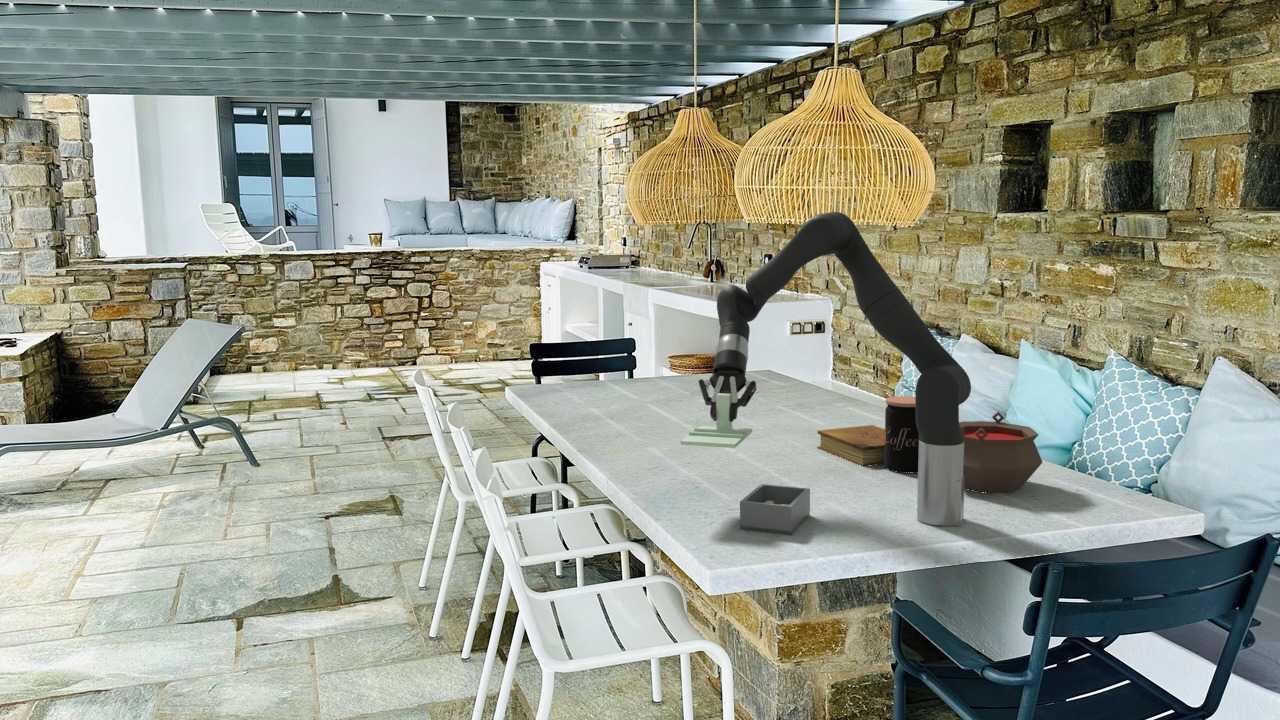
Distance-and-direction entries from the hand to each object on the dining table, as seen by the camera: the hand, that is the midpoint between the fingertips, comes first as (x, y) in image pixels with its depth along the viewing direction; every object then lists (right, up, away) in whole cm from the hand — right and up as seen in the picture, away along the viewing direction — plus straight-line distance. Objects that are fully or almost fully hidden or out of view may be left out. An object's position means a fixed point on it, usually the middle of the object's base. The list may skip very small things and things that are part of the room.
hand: (722, 419), depth 226 cm
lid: (-2, -4, -3) cm, 5 cm away
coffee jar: (+50, -15, +33) cm, 61 cm away
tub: (+10, -21, -10) cm, 26 cm away
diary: (+44, -13, +50) cm, 67 cm away
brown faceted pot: (+65, -17, +15) cm, 69 cm away
